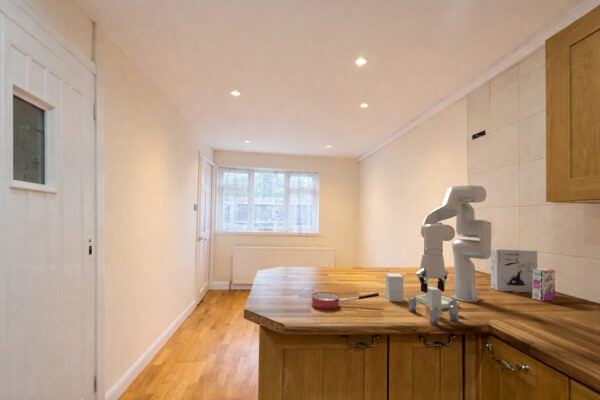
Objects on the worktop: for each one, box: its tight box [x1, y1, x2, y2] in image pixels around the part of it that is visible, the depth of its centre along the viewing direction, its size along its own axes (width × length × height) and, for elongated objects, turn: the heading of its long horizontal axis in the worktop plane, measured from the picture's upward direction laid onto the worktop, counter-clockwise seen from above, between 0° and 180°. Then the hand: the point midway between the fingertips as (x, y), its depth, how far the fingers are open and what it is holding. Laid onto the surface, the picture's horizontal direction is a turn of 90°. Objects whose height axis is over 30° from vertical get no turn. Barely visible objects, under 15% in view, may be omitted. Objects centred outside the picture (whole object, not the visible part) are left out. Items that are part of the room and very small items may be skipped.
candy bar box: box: [531, 267, 556, 302], centre depth 149 cm, size 11×5×16 cm, turn 108°
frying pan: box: [311, 291, 380, 311], centre depth 132 cm, size 32×13×6 cm, turn 97°
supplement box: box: [385, 273, 404, 303], centre depth 143 cm, size 7×7×13 cm
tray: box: [415, 294, 460, 310], centre depth 137 cm, size 14×14×2 cm
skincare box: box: [424, 286, 442, 319], centre depth 121 cm, size 6×4×12 cm
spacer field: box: [408, 296, 459, 326], centre depth 122 cm, size 21×17×6 cm
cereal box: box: [490, 247, 538, 293], centre depth 167 cm, size 22×8×25 cm, turn 81°
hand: (432, 291), depth 121 cm, fingers open, 9 cm apart
